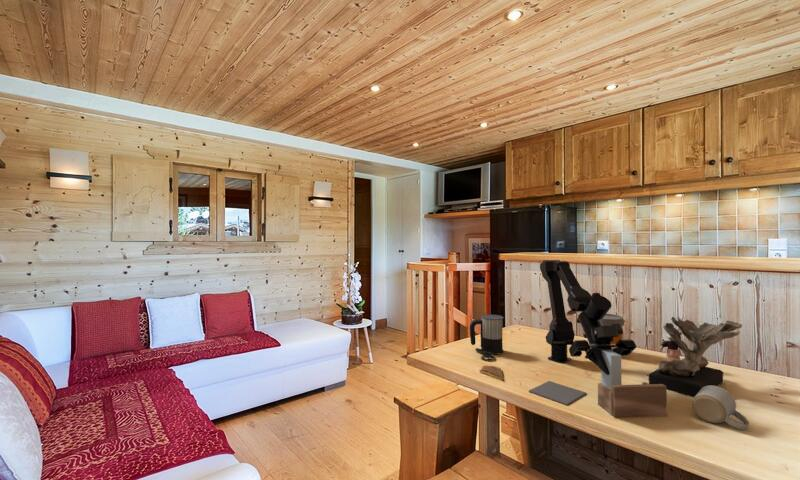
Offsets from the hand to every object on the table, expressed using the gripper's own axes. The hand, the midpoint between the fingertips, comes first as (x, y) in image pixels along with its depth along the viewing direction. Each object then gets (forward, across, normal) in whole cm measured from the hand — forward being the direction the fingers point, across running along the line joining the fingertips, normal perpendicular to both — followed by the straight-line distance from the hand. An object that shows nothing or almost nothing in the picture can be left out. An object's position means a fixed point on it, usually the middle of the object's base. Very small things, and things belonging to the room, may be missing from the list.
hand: (614, 374), depth 107 cm
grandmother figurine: (-13, +38, +23) cm, 47 cm away
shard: (-10, -29, +21) cm, 37 cm away
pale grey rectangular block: (+4, 0, +6) cm, 7 cm away
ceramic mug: (+15, +19, -5) cm, 25 cm away
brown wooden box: (+10, 0, 0) cm, 10 cm away
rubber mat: (+2, -15, +8) cm, 17 cm away
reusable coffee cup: (-24, +23, +35) cm, 49 cm away
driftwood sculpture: (0, +33, +11) cm, 34 cm away
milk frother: (-25, -25, +36) cm, 50 cm away
